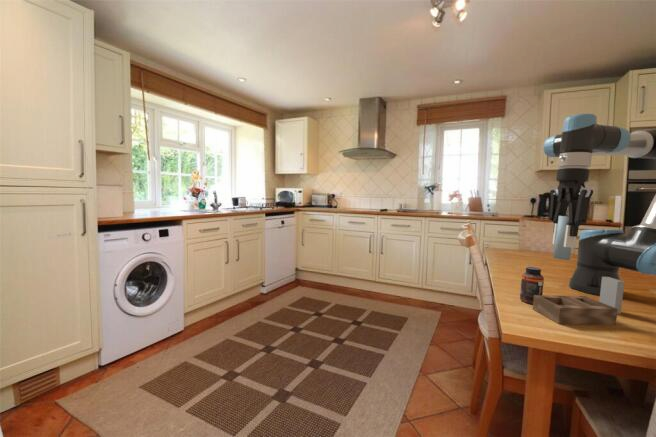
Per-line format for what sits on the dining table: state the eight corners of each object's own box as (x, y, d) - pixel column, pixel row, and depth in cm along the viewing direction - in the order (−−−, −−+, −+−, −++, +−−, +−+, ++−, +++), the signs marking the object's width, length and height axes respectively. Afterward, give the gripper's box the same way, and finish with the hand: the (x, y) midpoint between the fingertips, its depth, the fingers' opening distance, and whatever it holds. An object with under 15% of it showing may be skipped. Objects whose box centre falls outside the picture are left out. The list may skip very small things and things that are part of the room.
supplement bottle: (545, 306, 94) (548, 271, 93) (524, 304, 95) (527, 269, 94) (536, 299, 100) (539, 266, 99) (516, 297, 101) (519, 265, 100)
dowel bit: (562, 257, 93) (568, 216, 92) (573, 260, 90) (579, 217, 88) (550, 256, 94) (555, 215, 92) (559, 259, 90) (565, 216, 88)
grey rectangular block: (604, 307, 94) (608, 276, 93) (620, 314, 89) (624, 281, 88) (598, 307, 94) (602, 276, 93) (614, 314, 89) (617, 281, 88)
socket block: (583, 310, 91) (585, 296, 91) (615, 324, 82) (617, 308, 81) (532, 309, 91) (533, 295, 91) (558, 323, 81) (560, 307, 81)
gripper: (540, 169, 98) (532, 240, 100) (584, 165, 81) (573, 250, 83) (563, 171, 98) (554, 242, 100) (612, 166, 81) (600, 251, 83)
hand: (563, 245), depth 91 cm, fingers closed on dowel bit, 4 cm apart
